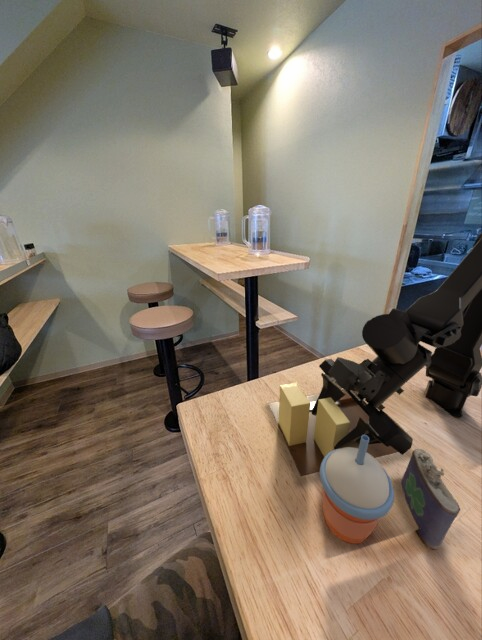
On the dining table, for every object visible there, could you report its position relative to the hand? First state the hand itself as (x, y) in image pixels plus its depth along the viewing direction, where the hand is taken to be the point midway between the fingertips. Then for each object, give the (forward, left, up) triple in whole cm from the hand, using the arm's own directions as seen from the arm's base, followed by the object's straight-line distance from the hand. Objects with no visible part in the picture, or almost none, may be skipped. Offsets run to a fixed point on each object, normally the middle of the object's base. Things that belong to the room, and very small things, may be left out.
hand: (323, 430), depth 45 cm
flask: (-16, +2, -7) cm, 17 cm away
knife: (+1, -14, -5) cm, 15 cm away
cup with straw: (-7, +9, -7) cm, 13 cm away
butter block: (+6, -2, -5) cm, 8 cm away
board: (0, -8, -7) cm, 10 cm away
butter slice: (-1, -1, -5) cm, 6 cm away
